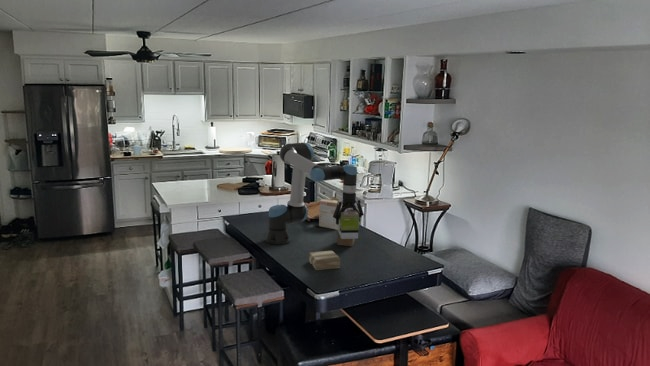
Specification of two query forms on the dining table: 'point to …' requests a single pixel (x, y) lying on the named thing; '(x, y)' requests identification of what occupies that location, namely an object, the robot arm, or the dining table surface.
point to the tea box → (349, 224)
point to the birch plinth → (324, 260)
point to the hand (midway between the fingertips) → (347, 228)
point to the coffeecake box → (327, 213)
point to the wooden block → (345, 241)
